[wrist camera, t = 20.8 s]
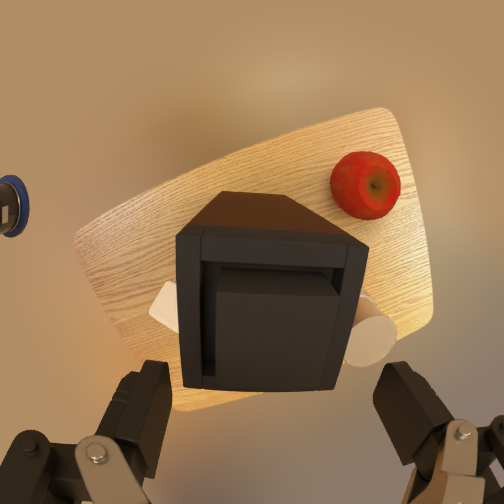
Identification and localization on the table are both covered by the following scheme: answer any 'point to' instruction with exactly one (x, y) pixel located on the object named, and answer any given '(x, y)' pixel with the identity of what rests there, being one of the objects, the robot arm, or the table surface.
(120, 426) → the robot arm
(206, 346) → the brown square canister
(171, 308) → the smartphone
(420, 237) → the table surface
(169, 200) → the table surface
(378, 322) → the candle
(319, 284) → the dark brown square block
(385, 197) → the apple
